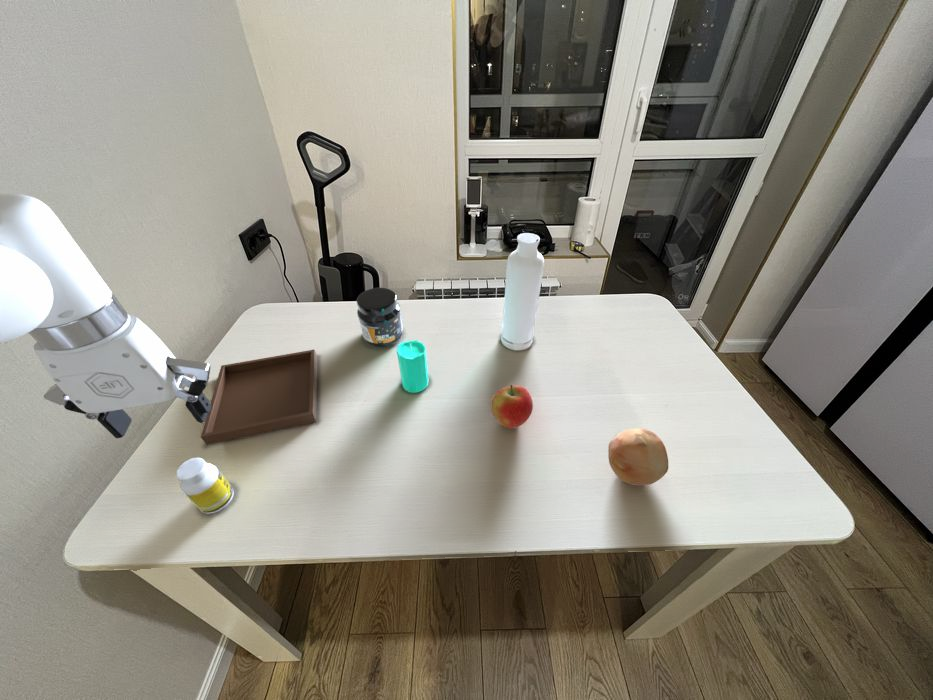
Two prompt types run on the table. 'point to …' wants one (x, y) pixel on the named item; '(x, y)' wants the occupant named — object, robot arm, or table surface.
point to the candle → (413, 365)
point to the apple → (512, 406)
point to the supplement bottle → (204, 485)
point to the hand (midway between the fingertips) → (165, 421)
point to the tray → (262, 397)
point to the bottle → (522, 292)
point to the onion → (638, 456)
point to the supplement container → (379, 317)
